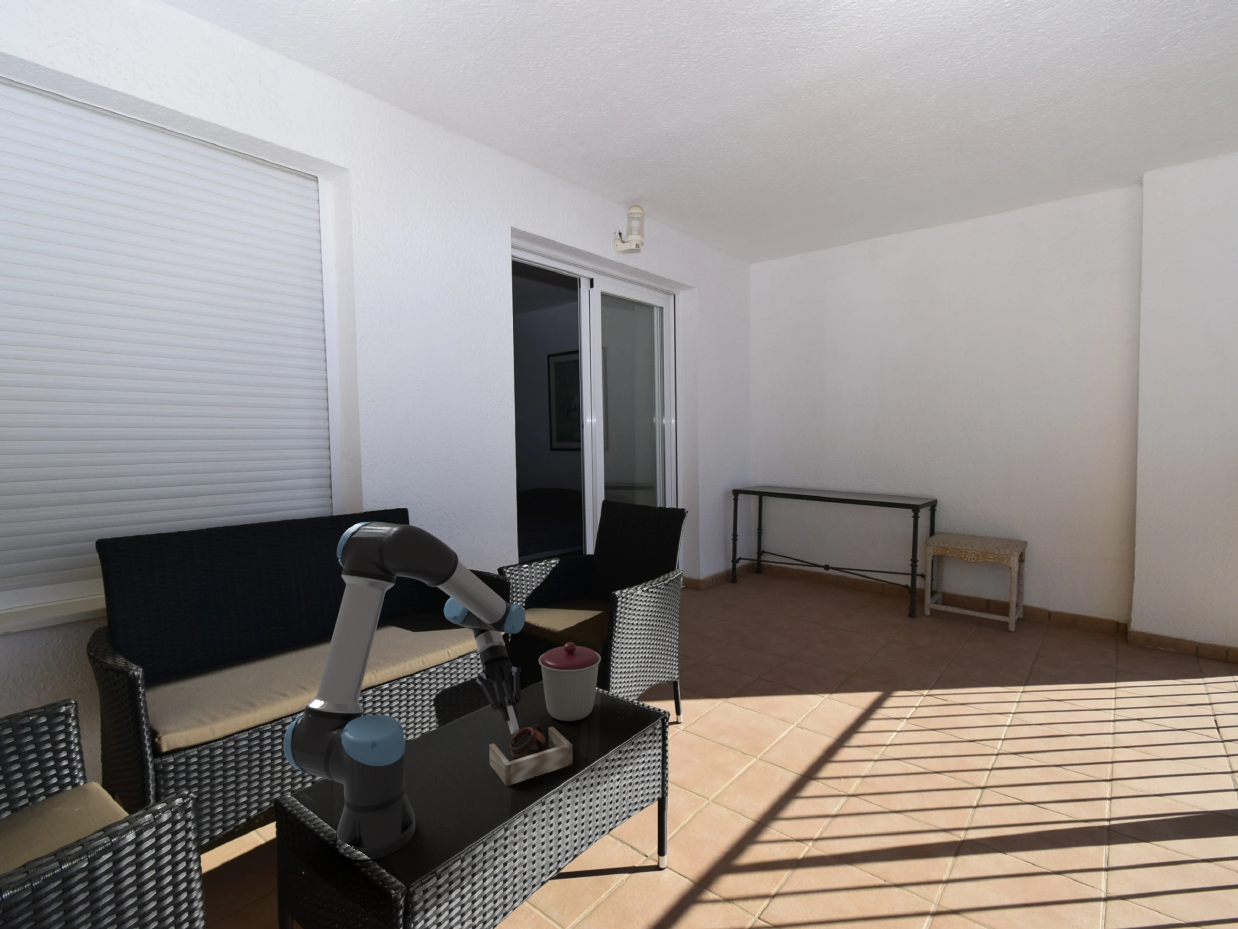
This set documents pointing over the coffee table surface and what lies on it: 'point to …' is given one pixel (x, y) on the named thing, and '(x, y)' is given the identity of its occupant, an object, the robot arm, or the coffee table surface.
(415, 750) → the coffee table surface
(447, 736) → the coffee table surface
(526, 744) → the pottery mug
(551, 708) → the canister
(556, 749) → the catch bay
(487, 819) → the coffee table surface
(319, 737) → the robot arm
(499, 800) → the coffee table surface
